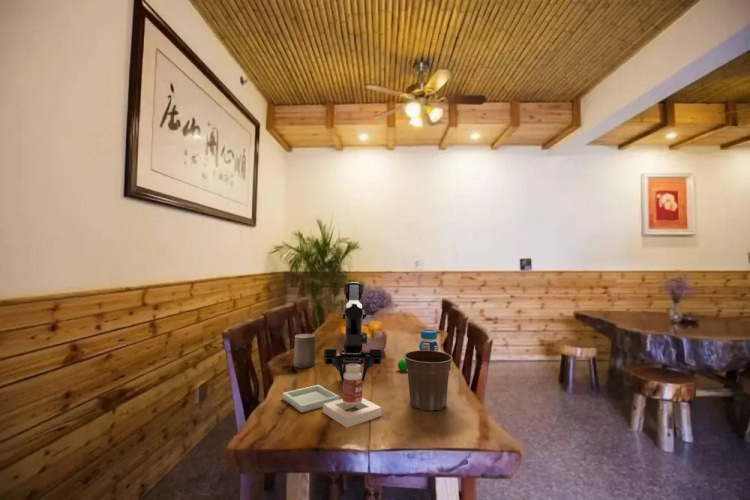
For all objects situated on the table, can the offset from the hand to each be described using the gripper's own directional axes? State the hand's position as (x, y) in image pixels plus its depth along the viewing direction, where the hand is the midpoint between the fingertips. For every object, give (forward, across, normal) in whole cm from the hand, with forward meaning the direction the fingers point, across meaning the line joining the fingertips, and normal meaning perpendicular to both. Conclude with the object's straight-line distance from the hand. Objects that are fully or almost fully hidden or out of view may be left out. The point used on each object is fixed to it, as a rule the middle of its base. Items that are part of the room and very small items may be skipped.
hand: (352, 381), depth 102 cm
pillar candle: (-30, -22, +46) cm, 60 cm away
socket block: (+6, 0, +8) cm, 10 cm away
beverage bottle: (-16, +32, +32) cm, 48 cm away
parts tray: (-1, -14, +16) cm, 21 cm away
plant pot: (+2, +26, +14) cm, 29 cm away
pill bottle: (+4, 0, +6) cm, 7 cm away
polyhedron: (-25, +23, +40) cm, 53 cm away
